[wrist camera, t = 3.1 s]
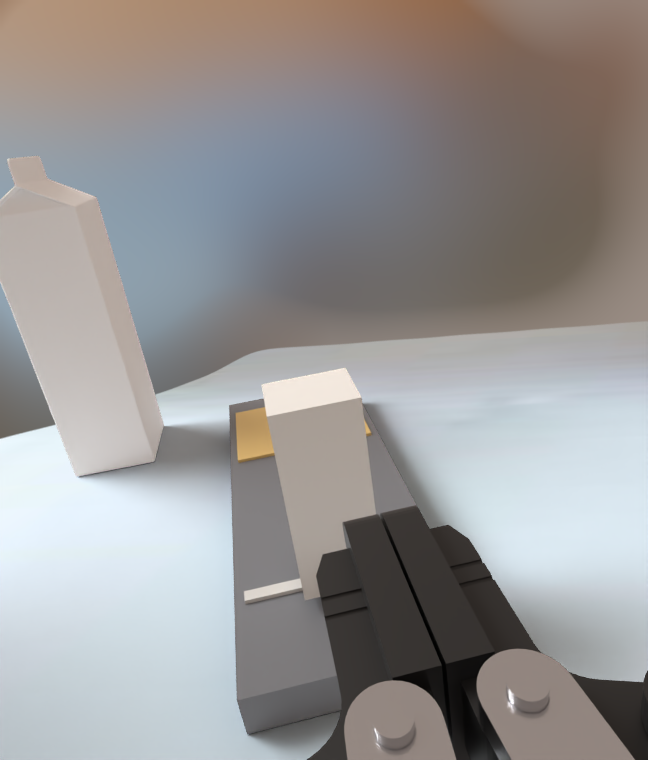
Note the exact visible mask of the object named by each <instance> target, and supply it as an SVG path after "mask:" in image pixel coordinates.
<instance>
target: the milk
mask: <svg viewBox="0 0 648 760" xmlns="http://www.w3.org/2000/svg"><path fill="white" fill-rule="evenodd" d="M7 161H8V166H9V169H10V172H11V175H12V178H13V181H14V184H15V186H14V187H13V188H12V189H11V190H10V191H9V192H8V193H7V194H6V195H5V196H4V197H3V198H2V199H1V200H0V282H1V285H2V287H3V290H4V292H5V295H6V298H7V300H8V303H9V306H10V308H11V310H12V313H13V316H14V318H15V320H16V323H17V326H18V329H19V331H20V333H21V336H22V339H23V342H24V344H25V347H26V349H27V352H28V354H29V357H30V360H31V362H32V364H33V367H34V370H35V373H36V375H37V378H38V380H39V383H40V385H41V388H42V391H43V393H44V396H45V398H46V401H47V403H48V406H49V408H50V411H51V414H52V416H53V419H54V421H55V424H56V427H57V429H58V432H59V434H60V437H61V440H62V442H63V445H64V447H65V450H66V452H67V455H68V458H69V460H70V463H71V465H72V468H73V470H74V473H75V475H76V476H77V477H78V476H83V475H89V474H94V473H99V472H104V471H109V470H114V469H119V468H125V467H130V466H135V465H140V464H145V463H150V462H154V461H155V458H156V454H157V450H158V446H159V442H160V439H161V435H162V431H163V427H164V423H163V420H162V416H161V413H160V410H159V406H158V403H157V399H156V396H155V393H154V390H153V386H152V383H151V379H150V376H149V372H148V369H147V366H146V363H145V359H144V356H143V352H142V349H141V346H140V342H139V339H138V335H137V332H136V329H135V325H134V322H133V318H132V315H131V312H130V308H129V305H128V302H127V298H126V295H125V292H124V288H123V285H122V281H121V278H120V275H119V271H118V268H117V265H116V261H115V258H114V255H113V251H112V248H111V244H110V241H109V237H108V234H107V231H106V227H105V224H104V221H103V217H102V214H101V210H100V207H99V204H98V200H97V198H96V197H94V196H92V195H89V194H87V193H84V192H81V191H79V190H76V189H73V188H71V187H68V186H65V185H62V184H60V183H57V182H55V181H52V180H50V179H48V178H47V176H46V174H45V171H44V167H43V165H42V162H41V159H40V157H39V156H33V157H22V158H10V159H8V160H7Z"/></svg>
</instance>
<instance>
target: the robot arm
mask: <svg viewBox="0 0 648 760" xmlns="http://www.w3.org/2000/svg"><path fill="white" fill-rule="evenodd" d="M342 524H343V532H344V537H345V543H346V549H343V550H339V551H335V552H330V553H326V554H323V555H322V558H321V561H320V564H319V568H318V571H317V574H316V578H317V583H318V588H319V593H320V598H321V603H322V608H323V612H324V617H325V622H326V627H327V632H328V637H329V642H330V646H331V651H332V656H333V661H334V666H335V670H336V675H337V680H338V685H339V690H340V694H341V701H342V702H341V713H340V718H339V721H338V724H337V726H336V729H335V730H334V732H333V734H332V736H331V737H330V739H329V740H328V741H327V743H326V744H325V745H324V746H323V747H322V748H321V749H320V750H319V751H318V752H317V753H315V754H314V755H313V756H311V757H310V758H308V759H307V760H648V671H647V673H646V675H645V678H644V682H629V681H612V680H598V679H590V678H586V677H581V676H578V675H575V674H573V673H570V672H568V671H567V670H566V669H565V668H564V667H563V666H562V665H561V664H560V663H558V662H557V661H555V660H554V659H552V658H551V657H549V656H547V655H545V654H542V653H541V652H540V651H539V650H538V648H537V647H536V646H535V644H534V643H533V641H532V640H531V638H530V637H529V635H528V633H527V632H526V630H525V628H524V627H523V625H522V624H521V622H520V620H519V619H518V617H517V616H516V614H515V612H514V611H513V609H512V608H511V606H510V604H509V603H508V601H507V599H506V598H505V596H504V595H503V593H502V591H501V590H500V588H499V587H498V585H497V583H496V582H495V580H493V579H492V575H491V574H490V572H489V571H488V569H487V567H486V566H485V564H484V563H482V560H481V558H480V556H479V554H478V553H477V551H476V550H475V548H474V546H473V545H472V543H471V542H470V540H469V539H468V538H467V537H465V536H464V535H462V534H461V533H459V532H458V531H457V530H455V529H454V528H452V527H451V526H449V525H445V526H441V527H437V528H432V529H429V527H428V525H427V523H426V522H425V520H424V518H423V516H422V514H421V512H420V510H419V509H418V507H417V506H416V505H414V506H410V507H405V508H401V509H396V510H392V511H388V512H383V513H380V516H379V515H378V514H375V515H371V516H367V517H362V518H358V519H354V520H349V521H345V522H343V523H342Z"/></svg>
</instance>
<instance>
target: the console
mask: <svg viewBox="0 0 648 760" xmlns="http://www.w3.org/2000/svg"><path fill="white" fill-rule="evenodd" d="M362 406H363V414H364V422H365V430H366V438H367V446H368V454H369V462H370V470H371V478H372V486H373V494H374V502H375V510H376V514H378V515H379V516H380V513H383V512H388V511H392V510H396V509H401V508H405V507H410V506H414V505H416V503H415V501H414V499H413V497H412V496H411V494H410V492H409V490H408V488H407V486H406V484H405V482H404V481H403V479H402V477H401V475H400V473H399V471H398V469H397V467H396V465H395V464H394V462H393V460H392V458H391V456H390V454H389V452H388V450H387V449H386V447H385V445H384V443H383V441H382V439H381V437H380V435H379V433H378V432H377V430H376V428H375V426H374V424H373V422H372V420H371V418H370V417H369V415H368V413H367V411H366V409H365V407H364V405H363V403H362ZM229 412H230V451H231V489H232V528H233V566H234V605H235V644H236V682H237V702H238V706H239V709H240V712H241V715H242V719H243V722H244V725H245V728H246V732H247V734H250V733H254V732H258V731H262V730H266V729H270V728H274V727H278V726H282V725H285V724H289V723H293V722H297V721H301V720H305V719H309V718H313V717H317V716H321V715H324V714H328V713H332V712H336V711H340V710H341V702H342V701H341V694H340V690H339V685H338V680H337V675H336V670H335V666H334V661H333V656H332V651H331V646H330V642H329V637H328V632H327V627H326V622H325V617H324V612H323V608H322V603H321V598H320V597H317V598H313V599H309V600H305V599H304V594H303V589H302V584H301V579H300V574H299V570H298V565H297V560H296V555H295V550H294V546H293V541H292V536H291V531H290V526H289V521H288V517H287V512H286V507H285V502H284V497H283V493H282V488H281V483H280V478H279V473H278V468H277V464H276V459H275V454H274V449H273V444H272V439H271V435H270V430H269V425H268V420H267V415H266V409H265V403H264V399H259V400H254V401H249V402H244V403H239V404H234V405H229ZM416 506H417V505H416Z"/></svg>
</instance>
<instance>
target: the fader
mask: <svg viewBox="0 0 648 760" xmlns="http://www.w3.org/2000/svg"><path fill="white" fill-rule="evenodd" d="M262 390H263V396H264V403H265V409H266V415H267V420H268V425H269V430H270V435H271V439H272V444H273V449H274V454H275V459H276V464H277V468H278V473H279V478H280V483H281V488H282V493H283V497H284V502H285V507H286V512H287V517H288V521H289V526H290V531H291V536H292V541H293V546H294V550H295V555H296V560H297V565H298V570H299V574H300V579H301V584H302V589H303V594H304V599H305V600H309V599H313V598H317V597H320V593H319V588H318V583H317V578H316V574H317V571H318V568H319V564H320V561H321V558H322V555H323V554H326V553H330V552H335V551H339V550H343V549H346V543H345V537H344V532H343V524H342V523H343V522H345V521H349V520H354V519H358V518H362V517H367V516H371V515H375V514H376V510H375V502H374V494H373V486H372V478H371V470H370V462H369V454H368V446H367V438H366V430H365V422H364V414H363V406H362V398H361V396H360V394H359V392H358V390H357V388H356V386H355V385H354V383H353V381H352V379H351V377H350V375H349V374H348V372H347V370H346V368H342V369H337V370H332V371H327V372H322V373H317V374H312V375H306V376H301V377H296V378H291V379H286V380H281V381H276V382H271V383H266V384H262Z"/></svg>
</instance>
